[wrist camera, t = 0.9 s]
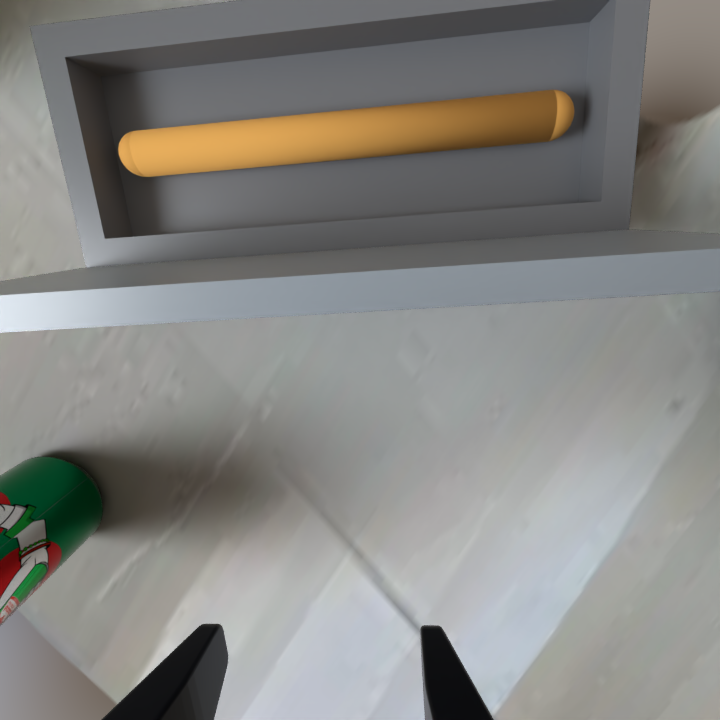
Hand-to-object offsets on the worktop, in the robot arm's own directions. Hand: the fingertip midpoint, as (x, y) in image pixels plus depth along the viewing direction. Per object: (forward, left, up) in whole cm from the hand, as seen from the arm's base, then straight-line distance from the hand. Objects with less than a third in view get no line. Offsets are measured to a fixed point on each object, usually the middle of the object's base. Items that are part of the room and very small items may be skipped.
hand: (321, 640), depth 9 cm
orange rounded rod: (0, -11, -11) cm, 16 cm away
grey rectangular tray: (0, -11, -12) cm, 17 cm away
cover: (0, -7, -6) cm, 9 cm away
